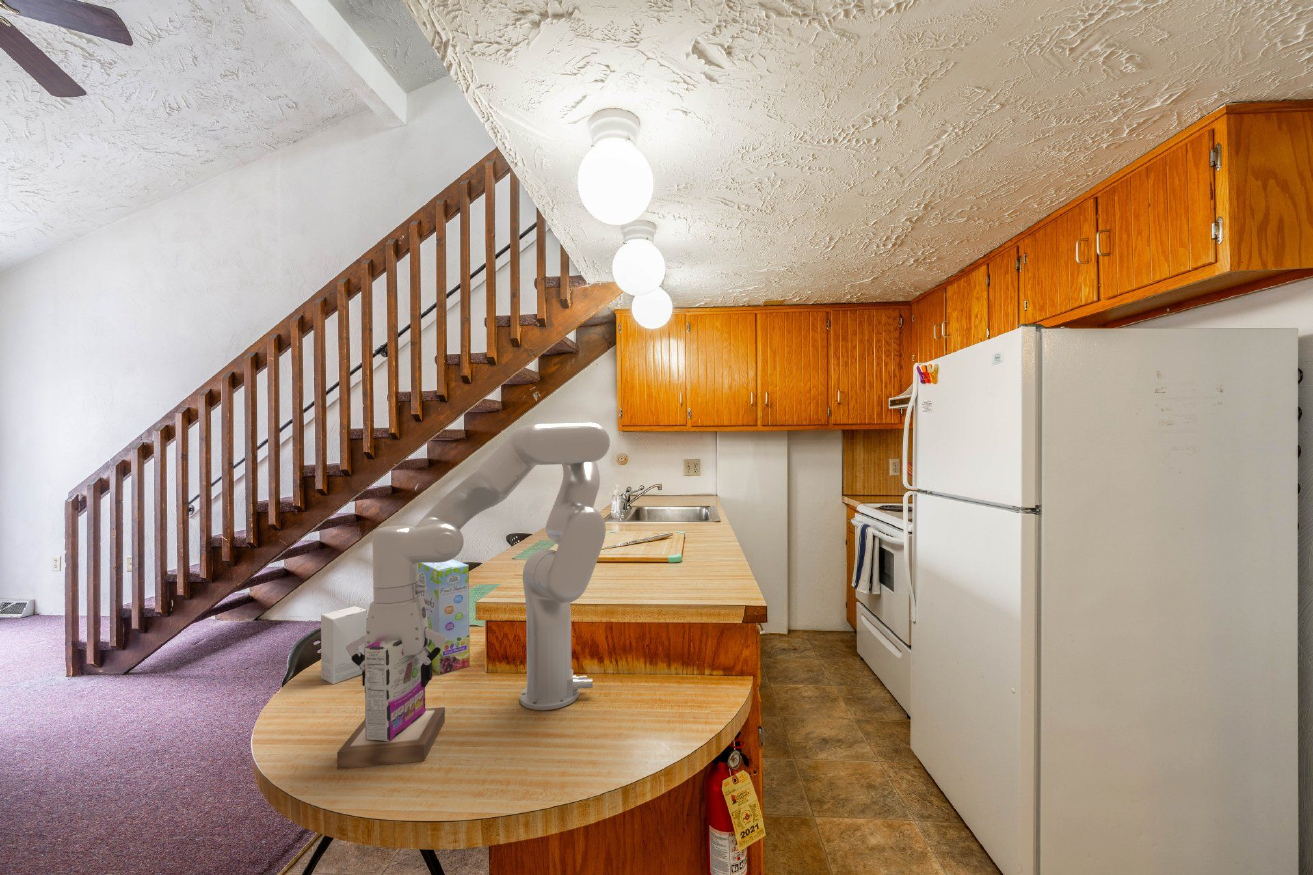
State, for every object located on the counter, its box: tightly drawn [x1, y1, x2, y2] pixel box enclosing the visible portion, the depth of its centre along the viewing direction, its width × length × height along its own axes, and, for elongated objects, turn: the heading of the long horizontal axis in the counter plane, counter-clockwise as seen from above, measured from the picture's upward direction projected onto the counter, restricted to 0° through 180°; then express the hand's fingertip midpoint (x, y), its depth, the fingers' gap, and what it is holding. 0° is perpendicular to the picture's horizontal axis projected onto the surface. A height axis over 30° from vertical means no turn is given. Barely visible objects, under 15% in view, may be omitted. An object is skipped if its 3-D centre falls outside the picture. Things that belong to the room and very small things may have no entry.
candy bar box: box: [364, 640, 426, 742], centre depth 98 cm, size 11×5×16 cm, turn 171°
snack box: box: [418, 558, 471, 675], centre depth 139 cm, size 22×9×26 cm, turn 43°
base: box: [336, 706, 446, 770], centre depth 98 cm, size 14×14×3 cm
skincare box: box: [320, 605, 368, 685], centre depth 129 cm, size 8×7×16 cm
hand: (398, 686), depth 98 cm, fingers open, 9 cm apart
